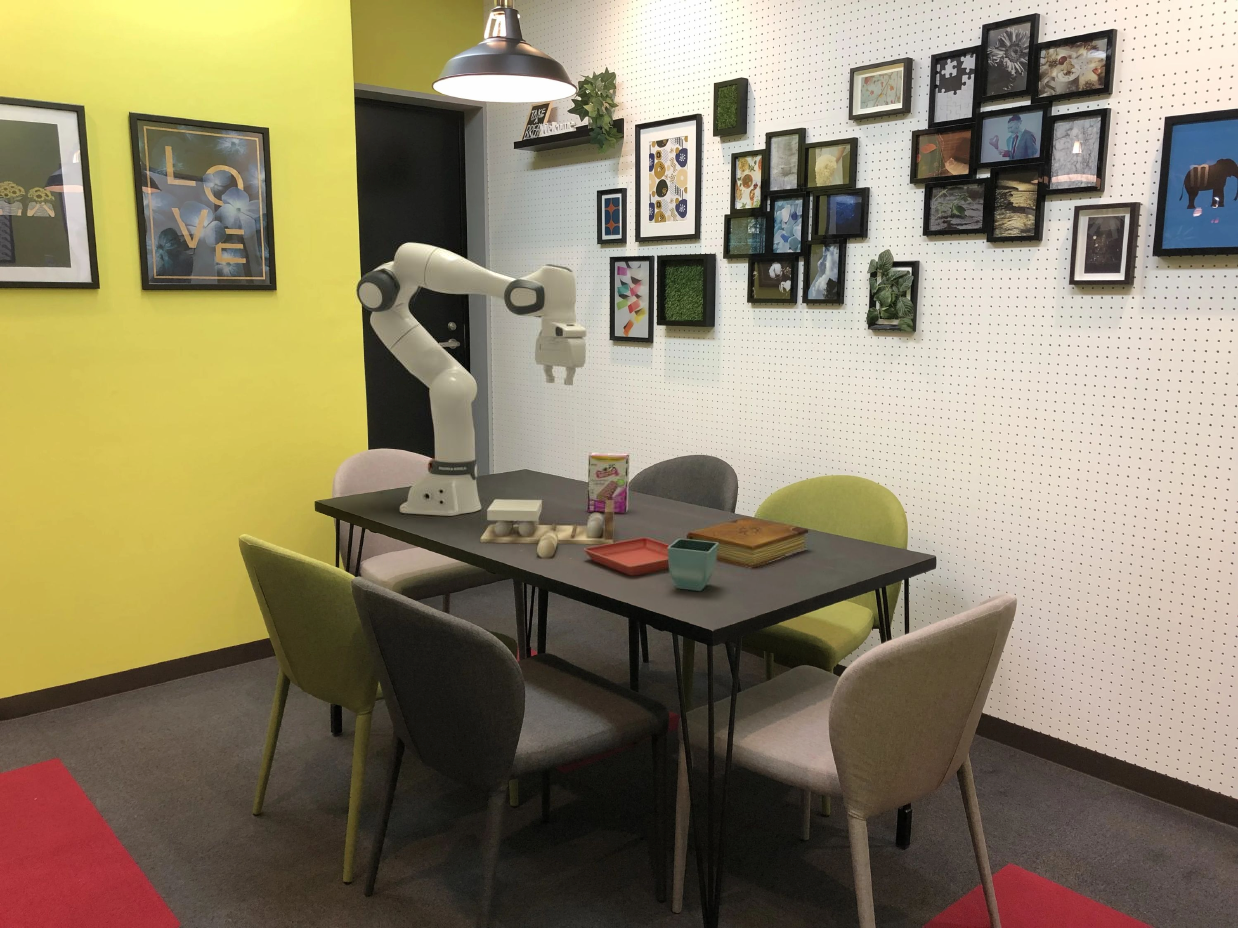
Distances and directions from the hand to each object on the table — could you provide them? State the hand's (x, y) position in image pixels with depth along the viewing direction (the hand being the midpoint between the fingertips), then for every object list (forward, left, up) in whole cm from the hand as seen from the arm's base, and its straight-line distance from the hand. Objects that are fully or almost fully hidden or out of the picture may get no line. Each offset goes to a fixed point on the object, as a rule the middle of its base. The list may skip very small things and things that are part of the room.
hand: (559, 384), depth 239 cm
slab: (-10, -12, -32) cm, 36 cm away
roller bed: (-1, -12, -37) cm, 39 cm away
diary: (+47, -24, -38) cm, 65 cm away
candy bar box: (+13, +18, -37) cm, 43 cm away
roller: (0, -27, -37) cm, 46 cm away
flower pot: (+32, -54, -37) cm, 73 cm away
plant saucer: (+21, -36, -38) cm, 56 cm away
